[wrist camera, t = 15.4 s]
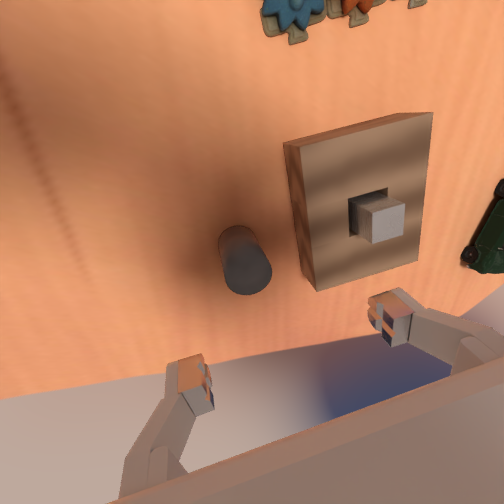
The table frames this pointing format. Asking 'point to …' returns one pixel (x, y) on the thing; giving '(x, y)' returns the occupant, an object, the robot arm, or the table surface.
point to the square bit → (376, 216)
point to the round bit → (243, 261)
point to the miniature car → (489, 241)
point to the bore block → (353, 184)
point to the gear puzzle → (314, 14)
